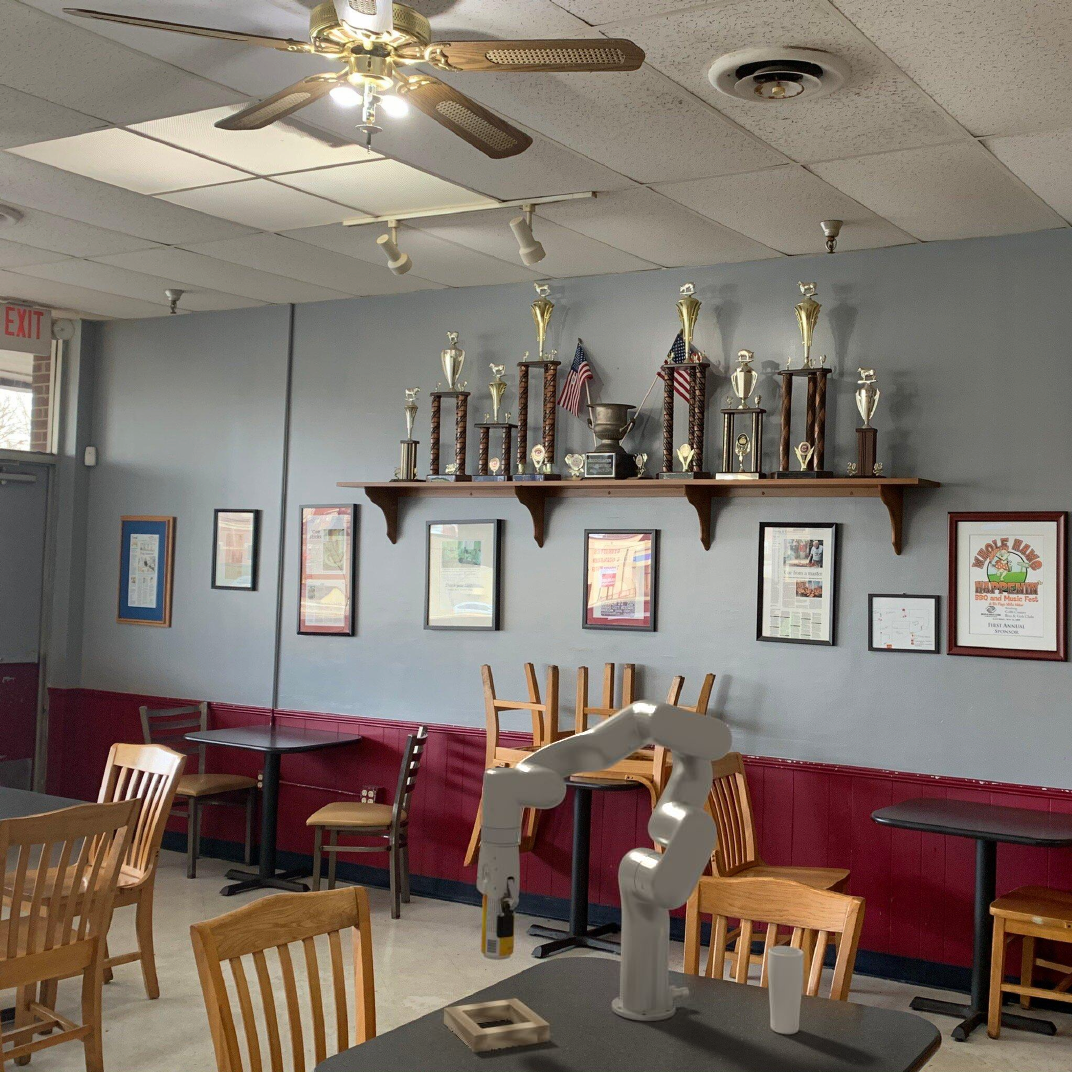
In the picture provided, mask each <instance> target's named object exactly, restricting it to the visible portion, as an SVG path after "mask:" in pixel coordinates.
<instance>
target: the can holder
mask: <svg viewBox="0 0 1072 1072" xmlns="http://www.w3.org/2000/svg"><path fill="white" fill-rule="evenodd" d="M443 1011H444V1012H443V1025H444V1024H445V1025H446V1026H447V1027H448V1028H447V1027H446V1026H445V1025H444V1026H445V1027H446V1028H447V1029H449V1031H451V1032H452V1031H453V1032H452V1033H453V1034H454V1033H455V1034H456V1035H457V1036H458V1037H459V1038H460V1039H461V1040H462V1041H463V1042H464V1043H465V1044H466V1045H468V1046H469V1047H468V1046H467V1047H468V1048H469V1049H470V1048H471V1049H472V1050H471V1049H470V1050H471V1051H472V1052H473V1053H474V1052H476V1053H481V1051H482V1052H486V1051H487V1052H488V1051H495V1050H499V1049H498V1048H501V1049H506V1047H508V1048H513V1047H512V1046H514V1047H519V1046H518V1045H521V1046H526V1045H533V1044H540V1043H546V1042H547V1043H548V1042H550V1030H551V1029H550V1027H551V1024H550V1023H548V1021H546V1020H545V1019H543V1018H542V1017H541V1016H539V1015H538V1014H537V1013H536V1012H534V1011H533V1010H532V1009H530V1008H529V1007H528V1006H527V1005H525V1003H523V1002H522V1001H520V1000H519V999H518V998H517V997H516V998H515V997H514V998H508V999H502V1000H493V1001H486V1002H480V1003H473V1004H472V1003H471V1004H464V1005H458V1006H457V1005H456V1006H449V1007H444V1008H443ZM507 1019H508V1020H507ZM500 1020H505V1021H510V1020H511V1021H512V1022H513V1023H512V1022H511V1021H510V1022H511V1023H512V1024H508V1025H507V1024H506V1025H500V1026H494V1027H493V1026H492V1027H486V1028H482V1027H480V1025H479V1024H477V1023H483V1022H491V1023H493V1022H492V1021H498V1022H501V1021H500ZM455 1034H454V1035H455ZM456 1035H455V1036H456ZM457 1036H456V1037H457ZM458 1037H457V1038H458ZM459 1038H458V1039H459ZM460 1039H459V1040H460ZM461 1040H460V1041H461ZM462 1041H461V1042H462ZM463 1042H462V1043H463ZM464 1043H463V1044H464ZM465 1044H464V1045H465ZM466 1045H465V1046H466ZM491 1049H493V1050H491ZM494 1049H495V1050H494ZM479 1051H480V1052H479Z"/></svg>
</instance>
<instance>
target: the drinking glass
mask: <svg viewBox="0 0 1072 1072" xmlns="http://www.w3.org/2000/svg"><path fill="white" fill-rule="evenodd" d="M804 955H805V954H804V951H803V950H801V949H800V948H797V947H794V946H787V945H775V946H771V947H769V948H768V950H767V982H768V996H769V1011H770V1012H769V1013H770V1015H769V1016H770V1029H771V1030H772V1031H773V1032H776V1033H778V1034H780V1035H781V1034H782V1035H794V1034H796V1033H798V1031H799V1030H800V1013H801V1005H802V1004H801V1003H802V993H803V984H804V971H805V969H804V968H805V964H804V963H805V960H804V959H805V958H804Z"/></svg>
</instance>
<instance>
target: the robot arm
mask: <svg viewBox="0 0 1072 1072" xmlns="http://www.w3.org/2000/svg"><path fill="white" fill-rule="evenodd" d="M731 731H732V730H731V729H730V727H729V726H728V725H727V723H726V722H725V721H723V720H721V719H719V718H716V717H713V716H709V715H705V714H703V713H699V712H696V711H691V710H689V709H686V708H682V707H680V706H678V705H673V704H671V703H668V702H667V703H666V702H662V701H657V700H656V701H655V700H653V699H640V700H636V701H634V702H632V703H630V704H628V705H627V706H625V707H623V708H622V709H620V710H619V711H617V712H615V713H614V714H612V715H610V716H609V717H607V718H606V719H604V720H602V721H601V722H599V723H598V724H597V723H596V725H594V726H592V727H591V728H589V729H587V730H585V731H583V732H580V733H577V734H574V735H571V736H569V737H567V738H564V739H561V740H559V741H555V742H553V743H550V744H548V745H545V746H544V747H542V748H540V749H538V750H536V751H535V752H533V753H531V754H530V755H528V756H526V757H525V758H523V759H522V760H520V761H519V762H517V764H515V765H514V766H513V767H512V768H511V767H493V768H492V767H491V768H489V769H487V770H486V771H485V772H484V774H483V780H482V783H483V784H482V802H481V804H482V805H481V807H482V810H481V825H480V826H481V828H480V829H481V830H480V847H479V853H478V854H479V855H478V863H477V875H476V889H477V890H478V891H479V892H480V893H481V894H482V895H483V886H484V880H485V879H487V883H488V884H487V896H488V897H489V898H491V899H492V900H494V901H497V900H498V906H499V915H497V937H498V938H504V937H512V936H513V933H514V934H515V921H514V915H515V916H516V909H517V906H518V905H519V901H520V899H519V894H520V881H521V880H520V878H521V875H520V873H521V870H520V869H521V868H520V867H521V864H520V849H519V847H520V846H519V845H521V844H522V843H521V842H522V841H521V840H522V822H523V821H522V820H523V819H522V817H523V815H522V814H523V808H531V809H543V810H548V809H552V808H555V807H557V806H559V804H561V803H562V802H563V800H564V798H565V797H566V793H567V784H566V782H565V778H566V777H570V776H572V775H577V774H584V773H594V772H600V771H604V770H608V769H611V768H612V767H614V766H616V765H617V764H618V763H620V762H621V761H623V760H625V759H626V758H628V757H629V756H631V755H633V754H635V753H637V752H638V751H639V750H641V749H643V748H644V747H646V746H647V745H654V746H658V747H661V748H664V749H668V750H670V753H671V757H672V769H671V774H670V775H669V776H670V777H669V779H668V781H667V784H666V786H665V788H664V790H663V792H662V794H661V795H660V798H659V799H658V801H657V804H656V806H655V808H654V810H653V811H652V814H651V816H650V817H649V821H648V823H647V824H648V825H647V831H648V835H649V837H650V838H651V839H652V841H653V842H654V843H656V844H657V845H659V846H661V847H663V848H665V850H664V851H663V853H662V852H659V851H658V850H654V849H651V848H649V847H648V848H647V847H638V848H637V847H636V848H634V849H631V850H630V851H628V852H627V853H625V855H624V856H623V857H622V859H621V860H620V864H619V867H618V875H617V877H618V886H619V887H618V888H619V894H620V901H621V903H620V904H621V931H620V932H621V933H620V934H621V935H620V936H621V937H620V971H619V972H620V975H619V976H620V978H619V981H620V983H619V996H618V997H615V998H614V999H613V1000H612V1001H611V1009H612V1011H613V1013H615V1014H616V1015H618V1016H620V1017H622V1018H627V1019H629V1020H633V1021H634V1020H635V1021H642V1022H643V1021H644V1022H645V1021H646V1022H655V1021H663V1020H667V1019H670V1018H671V1017H673V1016H675V1014H676V1004H675V1003H674V1002H675V1001H676V1000H677V999H683V998H684V999H685V998H688V997H689V996H690V990H689V988H688V987H687V986H683V987H677V986H676V985H669V965H670V963H669V959H670V955H669V953H670V929H671V928H670V926H671V923H670V921H671V920H670V913H669V912H670V911H669V910H675V909H678V908H680V907H682V906H683V905H685V904H686V902H688V901H689V899H690V898H691V896H692V895H693V893H694V892H695V889H696V887H697V885H698V884H699V881H700V879H701V877H702V876H703V873H704V871H705V869H706V867H707V865H708V863H709V861H710V858H711V857H712V855H713V852H714V850H715V847H716V845H717V836H718V831H717V829H718V828H717V826H716V825H717V824H716V821H715V820H714V818H713V817H712V816H711V814H710V813H709V812H707V811H706V810H703V809H704V806H705V804H706V802H707V799H708V798H709V795H710V792H711V790H712V786H713V781H714V780H713V779H714V773H713V767H712V762H714V761H718V760H721V759H723V758H724V757H726V755H728V754H729V752H730V750H731V749H732V745H733V735H732V732H731ZM504 894H508V895H509V898H503V896H504ZM481 902H482V903H481V904H482V905H483V899H482V901H481ZM503 902H509V903H507V904H506V905H505V907H504V905H503ZM673 1001H674V1002H673Z"/></svg>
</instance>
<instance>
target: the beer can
mask: <svg viewBox="0 0 1072 1072" xmlns="http://www.w3.org/2000/svg"><path fill="white" fill-rule="evenodd" d="M487 884H488V883H487V879H485V880H484V886H483V894H482V900H483V904H482V911H481V912H482V916H481V917H482V919H481V938H480V939H481V943H480V952H481V953H482V954H483V957H484V958H486V959H488V960H497V961H500V960H501V961H503V960H507V959H509V958H511V955H513V954H514V947H515V945H514V944H515V942H514V941H515V932H514V933H513V936H512V937H504V938H498V937H497V915H499V906H498V900H497V901H494V900H492V899H491V898H489V897H488V896H487ZM503 898H509V895H508V894H504V896H503ZM507 903H509V902H503V905H504V907H505V905H506V904H507ZM515 916H516V914H515V915H514V922H515Z"/></svg>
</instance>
